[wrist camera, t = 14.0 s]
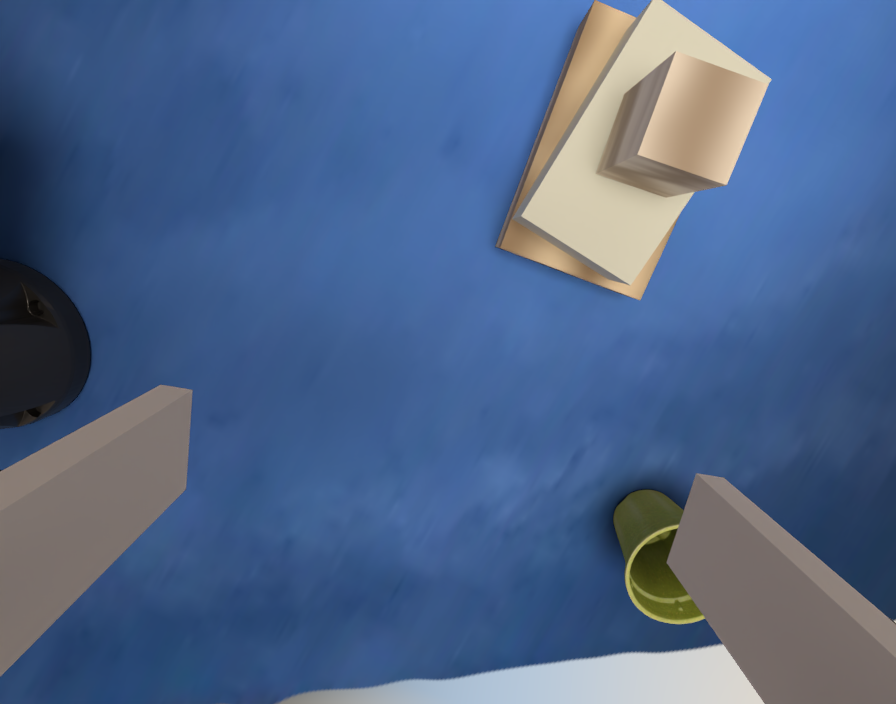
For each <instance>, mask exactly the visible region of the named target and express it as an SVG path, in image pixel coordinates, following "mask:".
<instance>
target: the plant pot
mask: <svg viewBox="0 0 896 704" xmlns="http://www.w3.org/2000/svg"><path fill="white" fill-rule="evenodd" d="M683 512H684V510H683V509H681V508H680V507H679V506H678V505H677V504H675V503H674V502H673V501H672V500H671V499H670V498H668V497H667V496H666V495H664V494H662V493H660V492H658V491H654V490H639V491H636V492H633V493H631V494H629V495H628V496H627V497H626V498H625V499H624V500H623V501H622V502H621V503H620V504H619V505H618V506H617V507H616V509H615V512H614V517H613V521H614V526H615V530H616V533H617V536H618V539H619V542H620V545H621V549H622V552H623V555H624V559H625V562H626V567H625V584H626V588H627V591H628V594H629V596H630V598H631V600H632V601H633V603H634V604H635V605H636V607H637V608H638V609H639V610H641V611H642V612H643V613H644V614H645V615H647V616H649V617H651V618H653V619H655V620H658V621H661V622H665V623H671V624H686V623H693V622H696V621H699V620H702V619H705V617H704V616H703V614H702V613H701V611H700V610H699V608H698V607H697V606H696V604H695V603H694V601H693V600H692V598H691V597H690V596H689V594H688V593H687V591H686V590H685V588H684V587H683V585H682V584H681V583H680V581H679V580H678V578H677V577H676V575H675V574H674V573H673V571H672V570H671V568H670V567H669V565H668V564H667V560H668V557H669V554H670V551H671V548H672V545H673V542H674V539H675V536H676V533H677V530H678V527H679V524H680V521H681V518H682V515H683Z"/></svg>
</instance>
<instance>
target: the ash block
mask: <svg viewBox="0 0 896 704" xmlns="http://www.w3.org/2000/svg"><path fill="white" fill-rule="evenodd" d="M768 85H769V84H766V83H763V82H760V81H758V80H755V79H752V78H749V77H747V76H744V75H741V74H738V73H736V72H733V71H730V70H727V69H725V68H722V67H719V66H716V65H714V64H711V63H708V62H705V61H703V60H700V59H697V58H694V57H691V56H689V55H686V54H683V53H680V52H678V51H675V52H674V53H673V54H672V55H671V56H669V57H668V58H667V59H666V60H665V61H663V62H662V63H661V64H660V65H659V66H657V67H656V68H655V69H654V70H653V71H651V72H650V73H649V74H648V75H647V76H645V77H644V78H643V79H642V80H641V81H639V82H638V83H637V84H636V85H635V86H633V87H632V88H631V89H630V90H629V91H627V92H626V93H625V94H624V96H623V99H622V102H621V105H620V107H619V110H618V113H617V116H616V119H615V121H614V124H613V127H612V130H611V132H610V135H609V138H608V141H607V144H606V146H605V149H604V152H603V155H602V158H601V160H600V163H599V166H598V169H597V172H596V174H598V175H601V176H604V177H607V178H610V179H613V180H615V181H618V182H621V183H624V184H627V185H630V186H633V187H636V188H639V189H642V190H645V191H648V192H651V193H654V194H657V195H660V196H663V197H666V198H667V197H672V196H677V195H682V194H686V193H691V192H696V191H701V190H706V189H711V188H716V187H720V186H725V185H727V183H728V181H729V178H730V176H731V173H732V171H733V169H734V166H735V164H736V161H737V159H738V157H739V154H740V152H741V149H742V147H743V145H744V142H745V140H746V137H747V135H748V133H749V130H750V128H751V125H752V123H753V121H754V118H755V116H756V113H757V111H758V109H759V106H760V104H761V101H762V99H763V97H764V94H765V92H766V89H767V87H768Z"/></svg>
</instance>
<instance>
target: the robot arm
mask: <svg viewBox="0 0 896 704" xmlns="http://www.w3.org/2000/svg"><path fill="white" fill-rule="evenodd" d="M89 366H90V346H89V340H88V335H87V332H86V329H85V326H84V324H83V321H82V319H81V317H80V315H79V313H78V311H77V310H76V308H75V307H74V305H73V304H72V302H71V301H70V300H69V298H68V297H67V296H66V295H65V294H64V293H63V292H62V290H61V289H59V288H58V287H57V286H56V285H55V284H54V283H53V282H52V281H50V280H49V279H48V278H46V277H45V276H43V275H42V274H40V273H39V272H37V271H35V270H33V269H31V268H29V267H27V266H25V265H22V264H20V263H17V262H13V261H9V260H5V259H0V429H4V428H14V427H20V426H24V425H28V424H31V423H34V422H36V421H39V420H41V419H43V418H46V417H48V416H50V415H52V414H55V413H57V412H59V411H60V410H62V409H63V408H65V407H66V406H67V405H69V404H70V403H71V402H72V401H73V400H74V399H75V398H76V397H77V395H78V394H79V392H80V391H81V389H82V388H83V386H84V383H85V381H86V378H87V375H88V372H89ZM191 405H192V390H190V389H184V388H178V387H172V386H166V385H159V386H158V387H156V388H154V389H152V390H150V391H148V392H147V393H145V394H143V395H141V396H139V397H137V398H135V399H134V400H132V401H130V402H128V403H126V404H124V405H123V406H121V407H119V408H117V409H115V410H113V411H111V412H110V413H108V414H106V415H104V416H102V417H100V418H99V419H97V420H95V421H93V422H91V423H89V424H87V425H86V426H84V427H82V428H80V429H78V430H76V431H75V432H73V433H71V434H69V435H67V436H65V437H63V438H62V439H60V440H58V441H56V442H54V443H52V444H50V445H49V446H47V447H45V448H43V449H41V450H39V451H38V452H36V453H34V454H32V455H30V456H28V457H26V458H25V459H23V460H21V461H19V462H17V463H15V464H14V465H12V466H10V467H8V468H6V469H4V470H0V676H1V675H2V674H3V673H4V672H5V671H6V670H7V669H8V668H9V667H10V666H11V665H12V664H13V663H14V662H15V661H16V660H17V659H18V658H19V657H20V656H21V655H22V654H23V653H24V652H25V651H26V650H27V649H28V648H29V647H30V646H31V645H32V644H33V643H34V642H35V641H36V640H37V639H38V638H39V637H40V636H41V635H42V634H43V633H44V632H45V631H46V630H47V629H48V628H49V627H50V626H51V625H52V624H53V623H54V622H55V621H56V620H57V619H58V618H59V617H60V616H61V615H62V614H63V613H64V612H65V611H66V610H67V609H68V608H69V607H70V606H71V605H72V604H73V603H74V602H75V601H76V600H77V599H78V598H79V597H80V596H81V595H82V594H83V593H84V592H85V590H86V589H87V588H88V587H89V586H90V585H91V584H92V583H93V582H94V581H95V580H96V579H97V578H98V577H99V576H100V575H101V574H102V573H103V572H104V571H105V570H106V569H107V568H108V567H109V566H110V565H111V564H112V563H113V562H114V561H115V560H116V559H117V558H118V557H119V556H120V555H121V554H122V553H123V552H124V551H125V550H126V549H127V548H128V547H129V546H130V545H131V544H132V543H133V542H134V541H135V540H136V539H137V538H138V537H139V536H140V535H141V534H142V533H143V532H144V531H145V530H146V529H147V528H148V527H149V526H150V525H151V524H152V523H153V522H154V521H155V520H156V519H157V518H158V517H159V516H160V515H161V514H162V513H163V512H164V511H165V510H166V509H167V508H168V507H169V506H170V505H171V504H172V503H173V502H174V501H175V500H176V499H177V498H178V497H179V496H180V495H181V494H182V493H183V492H184V491H185V490H186V481H187V466H188V451H189V435H190V420H191ZM667 564H668V565H669V567H670V568H671V570H672V571H673V573H674V574H675V575H676V577H677V578H678V580H679V581H680V583H681V584H682V585H683V587H684V588H685V590H686V591H687V593H688V594H689V596H690V597H691V598H692V600H693V601H694V603H695V604H696V606H697V607H698V608H699V610H700V611H701V613H702V614H703V616H704V617H705V619H706V620H707V621H708V623H709V624H710V626H711V627H712V629H713V630H714V631H715V633H716V634H717V636H718V637H719V639H720V640H721V641H722V643H723V644H724V646H725V647H726V649H727V650H728V652H729V653H730V654H731V656H732V657H733V659H734V660H735V661H736V663H737V664H738V666H739V667H740V669H741V670H742V671H743V673H744V674H745V676H746V677H747V679H748V680H749V682H750V683H751V685H752V686H753V687H754V689H755V690H756V692H757V693H758V695H759V696H760V697H761V699H762V700H763V702H764V703H765V704H896V623H895V622H894V621H893V620H891V619H890V618H888V617H887V616H885V615H884V614H883V613H882V612H881V611H880V610H878V609H877V608H876V607H875V606H874V605H873V604H871V603H870V602H869V601H868V600H867V599H865V598H864V597H863V596H862V595H861V594H860V593H858V592H857V591H856V590H855V589H854V588H853V587H851V586H850V585H849V584H848V583H847V582H846V581H844V580H843V579H842V578H841V577H840V576H838V575H837V574H836V573H835V572H834V571H833V570H831V569H830V568H829V567H828V566H827V565H826V564H824V563H823V562H822V561H821V560H820V559H818V558H817V557H816V556H815V555H814V554H813V553H811V552H810V551H809V550H808V549H807V548H806V547H804V546H803V545H802V544H801V543H800V542H799V541H797V540H796V539H795V538H794V537H793V536H791V535H790V534H789V533H788V532H787V531H786V530H784V529H783V528H782V527H781V526H780V525H779V524H777V523H776V522H775V521H774V520H773V519H772V518H770V517H769V516H768V515H767V514H766V513H764V512H763V511H762V510H761V509H760V508H759V507H757V506H756V505H755V504H754V503H753V502H752V501H750V500H749V499H748V498H747V497H746V496H745V495H743V494H742V493H741V492H740V491H739V490H737V489H736V488H735V487H734V486H733V485H732V484H730V483H729V482H728V481H727V480H726V479H725V478H722V477H716V476H710V475H704V474H697V473H696V476H695V479H694V482H693V485H692V488H691V491H690V494H689V497H688V500H687V503H686V506H685V509H684V512H683V515H682V518H681V521H680V524H679V527H678V530H677V533H676V536H675V539H674V542H673V545H672V548H671V551H670V554H669V557H668V560H667Z"/></svg>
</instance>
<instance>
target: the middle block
mask: <svg viewBox="0 0 896 704" xmlns="http://www.w3.org/2000/svg"><path fill="white" fill-rule="evenodd" d="M675 51H678V52H680V53H683V54H686V55H689V56H691V57H694V58H697V59H700V60H703V61H705V62H708V63H711V64H714V65H716V66H719V67H722V68H725V69H727V70H730V71H733V72H736V73H738V74H741V75H744V76H747V77H749V78H752V79H755V80H758V81H760V82H763V83H766V84H769V83H770V81H771V80H772V79H770V78H769V77H768V76H766V75H765V74H763V73H762V72H761V71H759V70H758V69H756V68H755V67H754V66H752V65H751V64H750V63H748V62H747V61H745V60H744V59H743V58H741V57H740V56H738V55H737V54H736V53H734V52H733V51H731V50H730V49H729V48H727V47H726V46H725V45H723V44H722V43H720V42H719V41H718V40H716V39H715V38H713V37H712V36H711V35H709V34H708V33H706V32H705V31H704V30H702V29H701V28H700V27H698V26H697V25H695V24H694V23H693V22H691V21H690V20H688V19H687V18H686V17H684V16H683V15H681V14H680V13H679V12H677V11H676V10H674V9H673V8H672V7H670V6H669V5H668V4H666V3H665V2H663V1H662V0H651V2H650V3H649V4H648V5H647V6H646V8H645V9H644V10H643V11H642V12H641V14H640V15H639V16H638V17H637V18H636V19H635V21H634V22H633V23H632V24H631V25H630V27H629V28H628V29H627V30H626V32H625V33H624V35H623V37H622V38H621V40H620V42H619V43H618V45H617V47H616V48H615V50H614V52H613V53H612V55H611V56H610V58H609V60H608V61H607V63H606V65H605V66H604V68H603V70H602V71H601V73H600V75H599V76H598V78H597V80H596V81H595V83H594V85H593V86H592V88H591V89H590V91H589V93H588V94H587V96H586V98H585V99H584V101H583V103H582V104H581V106H580V108H579V109H578V111H577V113H576V114H575V116H574V118H573V119H572V121H571V122H570V124H569V126H568V127H567V129H566V131H565V132H564V134H563V136H562V137H561V139H560V141H559V142H558V144H557V146H556V147H555V149H554V151H553V152H552V154H551V155H550V157H549V159H548V160H547V162H546V164H545V165H544V167H543V169H542V170H541V172H540V174H539V175H538V177H537V179H536V180H535V182H534V183H533V185H532V187H531V188H530V190H529V192H528V193H527V195H526V197H525V198H524V200H523V202H522V203H521V205H520V207H519V208H518V210H517V212H516V213H515V215H514V216H513V218H512V219H513V220H514V221H516V222H518V223H519V224H521V225H522V226H524V227H526V228H527V229H529V230H530V231H532V232H534V233H535V234H537V235H538V236H540V237H541V238H543V239H545V240H546V241H548V242H549V243H551V244H553V245H554V246H556V247H557V248H559V249H560V250H562V251H564V252H565V253H567V254H568V255H570V256H572V257H573V258H575V259H576V260H578V261H580V262H581V263H583V264H584V265H586V266H587V267H589V268H591V269H592V270H594V271H595V272H597V273H599V274H600V275H602V276H603V277H605V278H607V279H608V280H612V281H616V282H620V283H623V284H627V285H631V284H632V283H633V281H634V280H635V279H636V277H637V276H638V274H639V273H640V271H641V270H642V268H643V267H644V265H645V264H646V262H647V261H648V260H649V258H650V257H651V255H652V254H653V252H654V251H655V249H656V248H657V246H658V245H659V243H660V242H661V241H662V239H663V238H664V236H665V235H666V233H667V232H668V230H669V229H670V227H671V226H672V224H673V223H674V221H675V220H676V219H677V217H678V216H679V214H680V213H681V211H682V210H683V208H684V207H685V205H686V204H687V202H688V201H689V200H690V198H691V197H692V195H693V194H694V192H691V193H686V194H682V195H677V196H672V197H667V198H666V197H663V196H660V195H657V194H654V193H651V192H648V191H645V190H642V189H639V188H636V187H633V186H630V185H627V184H624V183H621V182H618V181H615V180H613V179H610V178H607V177H604V176H601V175H598V174H596V172H597V169H598V166H599V163H600V160H601V158H602V155H603V152H604V149H605V146H606V144H607V141H608V138H609V135H610V132H611V130H612V127H613V124H614V121H615V119H616V116H617V113H618V110H619V107H620V105H621V102H622V99H623V96H624V94H625V93H626V92H627V91H629V90H630V89H631V88H632V87H633V86H635V85H636V84H637V83H638V82H639V81H641V80H642V79H643V78H644V77H645V76H647V75H648V74H649V73H650V72H651V71H653V70H654V69H655V68H656V67H657V66H659V65H660V64H661V63H662V62H663V61H665V60H666V59H667V58H668V57H669V56H671V55H672V54H673V53H674V52H675Z"/></svg>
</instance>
